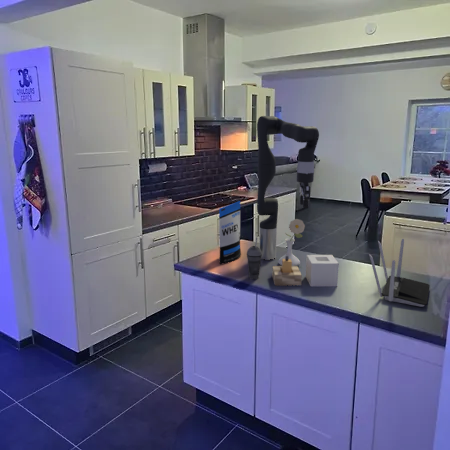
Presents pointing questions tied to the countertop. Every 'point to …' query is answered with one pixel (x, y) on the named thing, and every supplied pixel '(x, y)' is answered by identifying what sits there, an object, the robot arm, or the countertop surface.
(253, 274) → the beverage cup
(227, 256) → the protein powder
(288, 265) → the plug
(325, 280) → the white square socket block
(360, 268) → the countertop surface
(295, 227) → the flower in vase
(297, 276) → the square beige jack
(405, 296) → the wireless router
